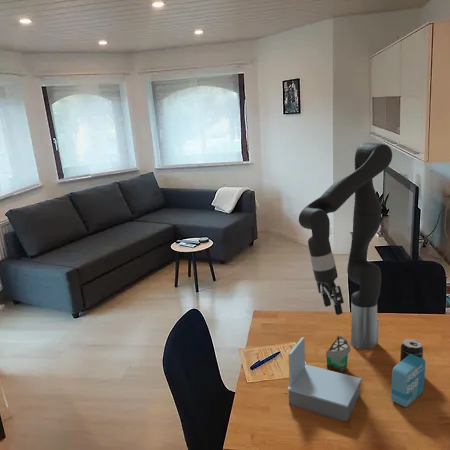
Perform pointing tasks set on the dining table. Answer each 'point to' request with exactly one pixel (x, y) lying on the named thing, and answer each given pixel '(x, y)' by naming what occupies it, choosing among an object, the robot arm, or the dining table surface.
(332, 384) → the lid
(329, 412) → the box
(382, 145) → the robot arm
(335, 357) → the food container
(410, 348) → the beverage can
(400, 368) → the data package
